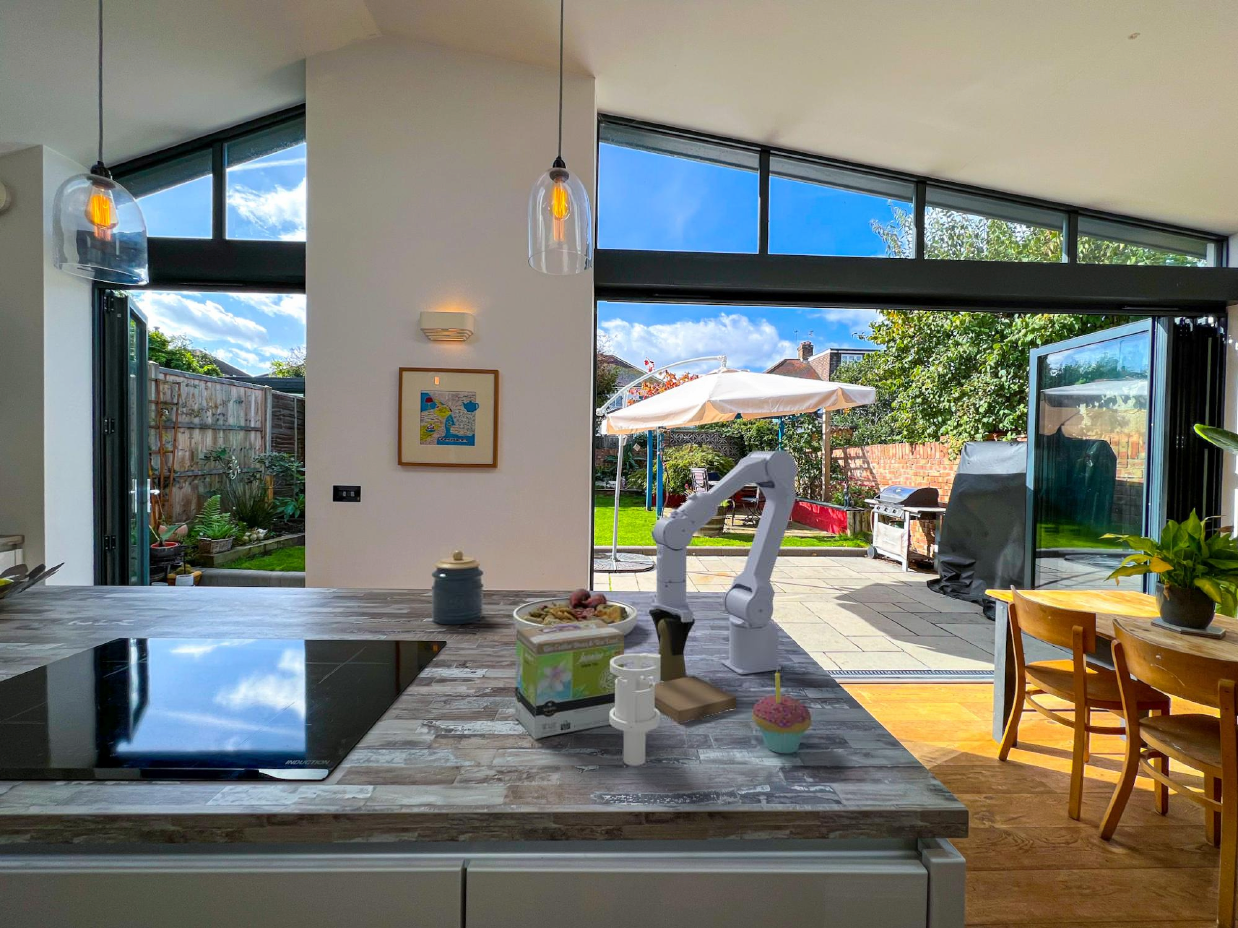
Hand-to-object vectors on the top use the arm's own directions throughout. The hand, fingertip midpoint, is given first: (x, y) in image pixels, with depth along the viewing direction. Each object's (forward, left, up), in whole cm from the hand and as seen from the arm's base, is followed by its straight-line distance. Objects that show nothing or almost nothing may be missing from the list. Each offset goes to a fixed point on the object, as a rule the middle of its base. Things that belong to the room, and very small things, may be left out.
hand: (671, 650), depth 123 cm
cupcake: (-3, +32, -5) cm, 33 cm away
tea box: (+24, +13, -5) cm, 28 cm away
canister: (+34, -57, -5) cm, 67 cm away
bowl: (+8, -37, -6) cm, 38 cm away
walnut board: (+3, +13, -6) cm, 14 cm away
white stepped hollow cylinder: (+19, +29, -5) cm, 35 cm away
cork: (0, 0, -5) cm, 5 cm away
